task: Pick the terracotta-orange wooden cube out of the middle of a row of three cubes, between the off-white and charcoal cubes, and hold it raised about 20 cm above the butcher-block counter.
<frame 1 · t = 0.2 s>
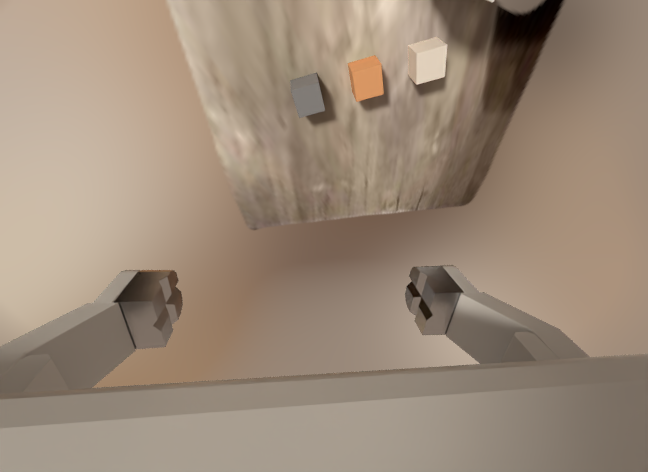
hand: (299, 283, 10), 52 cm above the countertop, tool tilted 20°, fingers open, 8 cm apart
terracotta cube: (363, 73, 53), on the countertop
charcoal cube: (307, 90, 55), on the countertop
offwhite cube: (421, 56, 52), on the countertop
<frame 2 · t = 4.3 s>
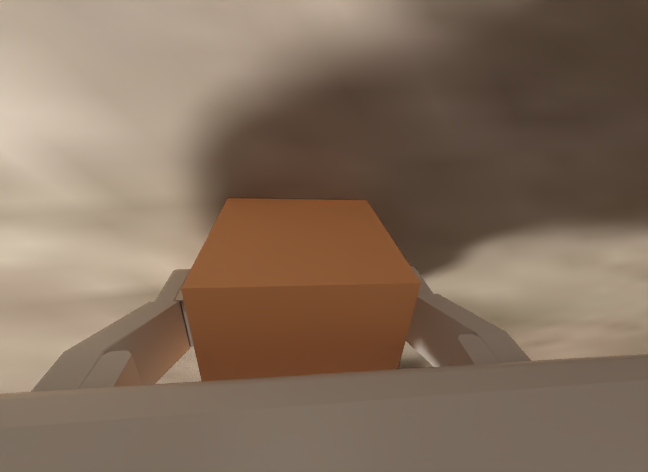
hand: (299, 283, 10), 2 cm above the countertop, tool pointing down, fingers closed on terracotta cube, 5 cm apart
terracotta cube: (298, 257, 11), on the countertop, touching gripper
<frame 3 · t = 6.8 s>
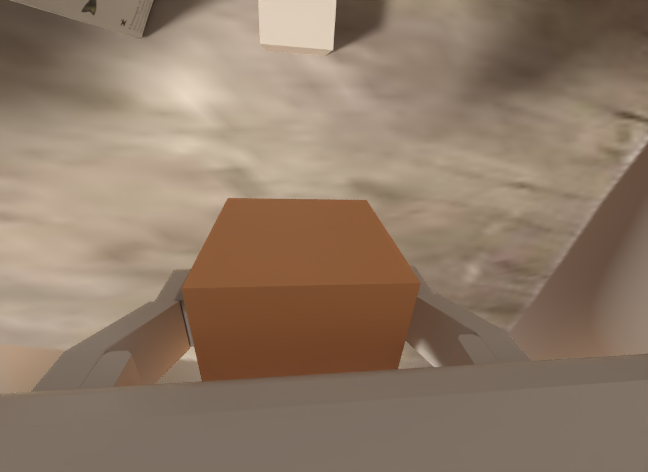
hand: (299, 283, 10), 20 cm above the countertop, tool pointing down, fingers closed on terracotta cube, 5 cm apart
terracotta cube: (298, 257, 12), point 19 cm above the countertop, touching gripper
offwhite cube: (296, 16, 23), on the countertop
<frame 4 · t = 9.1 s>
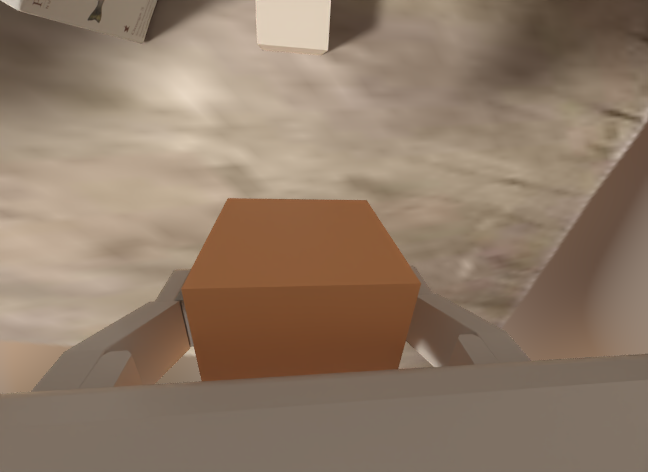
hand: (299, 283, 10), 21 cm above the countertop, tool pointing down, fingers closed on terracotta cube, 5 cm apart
terracotta cube: (298, 257, 11), point 19 cm above the countertop, touching gripper
offwhite cube: (292, 17, 23), on the countertop
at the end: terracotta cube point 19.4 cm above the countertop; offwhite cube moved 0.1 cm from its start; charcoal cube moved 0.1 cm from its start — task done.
